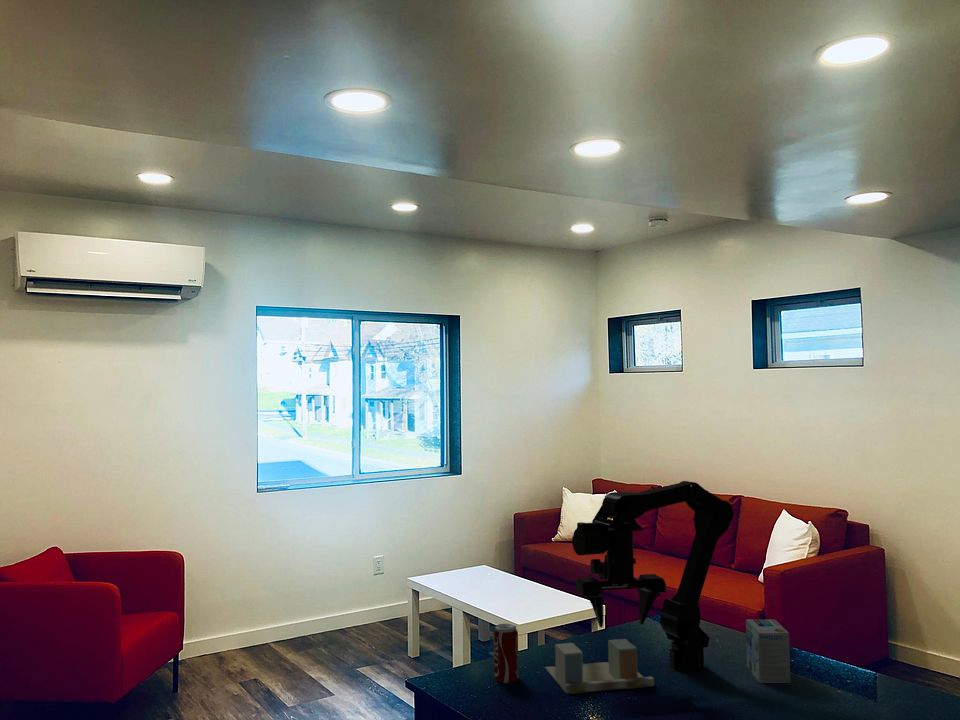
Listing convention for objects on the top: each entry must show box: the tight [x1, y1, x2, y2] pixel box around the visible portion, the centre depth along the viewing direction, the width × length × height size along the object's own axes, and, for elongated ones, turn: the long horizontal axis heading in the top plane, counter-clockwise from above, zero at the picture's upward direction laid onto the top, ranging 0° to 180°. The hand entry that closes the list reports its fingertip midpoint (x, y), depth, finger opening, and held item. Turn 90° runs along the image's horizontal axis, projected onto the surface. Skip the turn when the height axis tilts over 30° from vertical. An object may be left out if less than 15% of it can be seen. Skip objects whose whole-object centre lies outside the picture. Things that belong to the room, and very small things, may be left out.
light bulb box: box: [745, 618, 791, 684], centre depth 167 cm, size 11×7×11 cm, turn 175°
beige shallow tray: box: [544, 661, 655, 694], centre depth 165 cm, size 19×16×2 cm
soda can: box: [493, 623, 519, 684], centre depth 164 cm, size 5×5×12 cm
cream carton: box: [554, 642, 584, 688], centre depth 161 cm, size 4×7×7 cm, turn 11°
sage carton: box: [607, 638, 638, 679], centre depth 164 cm, size 4×7×7 cm, turn 11°
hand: (621, 625), depth 164 cm, fingers open, 9 cm apart
